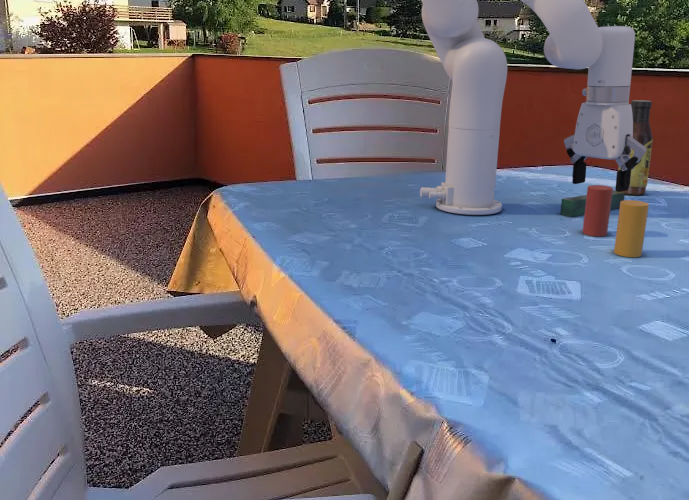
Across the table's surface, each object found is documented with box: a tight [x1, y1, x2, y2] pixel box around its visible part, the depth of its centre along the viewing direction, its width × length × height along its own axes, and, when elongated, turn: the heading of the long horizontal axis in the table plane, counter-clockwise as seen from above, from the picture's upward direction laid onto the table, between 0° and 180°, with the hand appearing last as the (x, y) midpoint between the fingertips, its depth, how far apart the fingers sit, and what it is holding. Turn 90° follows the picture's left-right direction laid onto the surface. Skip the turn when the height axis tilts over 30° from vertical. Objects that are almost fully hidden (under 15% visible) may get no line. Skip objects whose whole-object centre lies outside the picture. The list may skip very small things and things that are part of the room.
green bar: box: [559, 189, 626, 218], centre depth 137 cm, size 16×3×3 cm, turn 125°
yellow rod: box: [613, 199, 650, 258], centre depth 108 cm, size 4×4×8 cm
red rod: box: [582, 184, 614, 237], centre depth 119 cm, size 4×4×8 cm
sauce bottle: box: [617, 99, 654, 196], centre depth 152 cm, size 7×6×20 cm
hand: (599, 186), depth 136 cm, fingers open, 9 cm apart
